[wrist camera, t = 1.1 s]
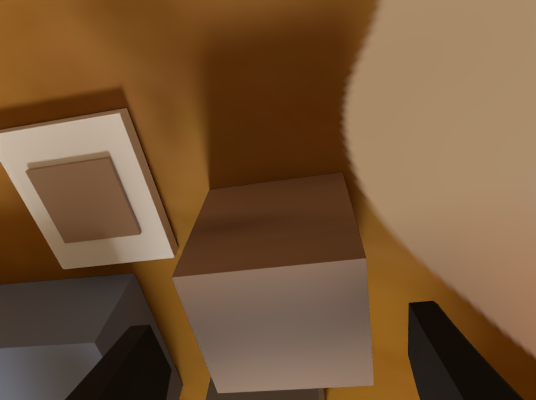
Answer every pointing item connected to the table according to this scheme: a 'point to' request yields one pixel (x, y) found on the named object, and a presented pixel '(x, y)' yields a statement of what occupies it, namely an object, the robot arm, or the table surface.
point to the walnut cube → (279, 287)
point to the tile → (89, 189)
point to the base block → (67, 332)
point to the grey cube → (266, 394)
